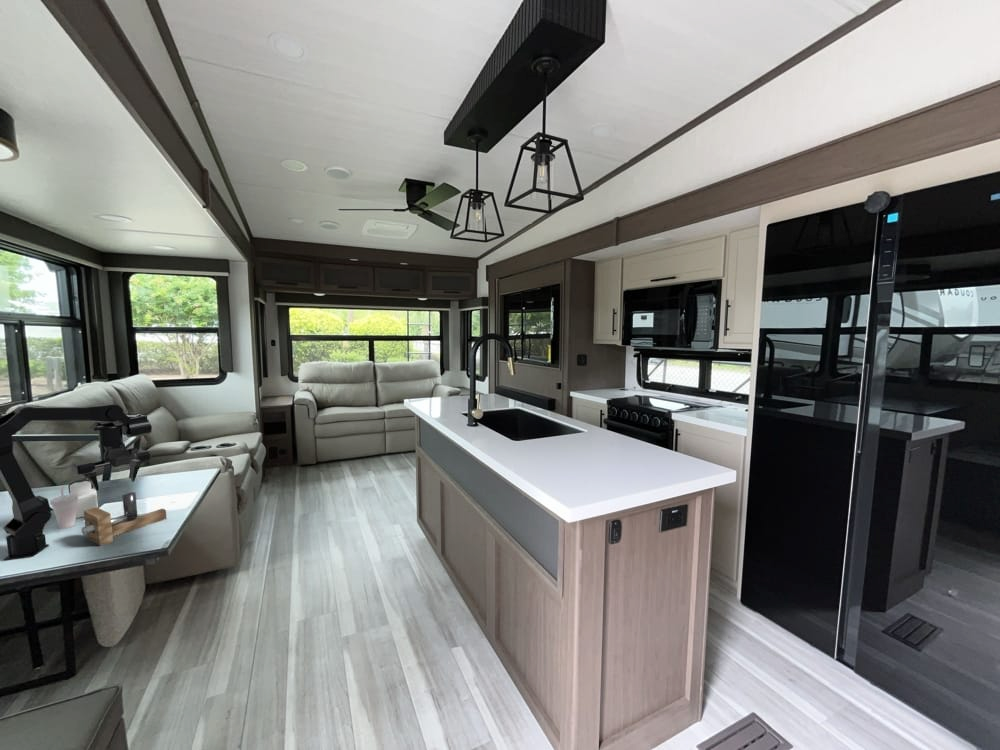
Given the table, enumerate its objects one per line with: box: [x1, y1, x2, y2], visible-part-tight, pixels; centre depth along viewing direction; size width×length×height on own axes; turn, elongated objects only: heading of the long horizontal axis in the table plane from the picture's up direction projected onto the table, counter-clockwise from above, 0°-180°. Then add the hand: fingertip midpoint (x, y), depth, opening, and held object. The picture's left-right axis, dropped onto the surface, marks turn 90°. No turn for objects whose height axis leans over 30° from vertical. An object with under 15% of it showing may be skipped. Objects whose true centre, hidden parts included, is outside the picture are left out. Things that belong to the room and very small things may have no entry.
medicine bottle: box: [68, 479, 99, 519], centre depth 143 cm, size 7×7×12 cm
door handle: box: [81, 491, 139, 535], centre depth 128 cm, size 13×3×8 cm, turn 152°
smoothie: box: [49, 485, 78, 530], centre depth 134 cm, size 6×6×14 cm
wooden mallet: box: [84, 507, 167, 547], centre depth 132 cm, size 18×10×9 cm, turn 152°
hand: (115, 485), depth 136 cm, fingers open, 9 cm apart
